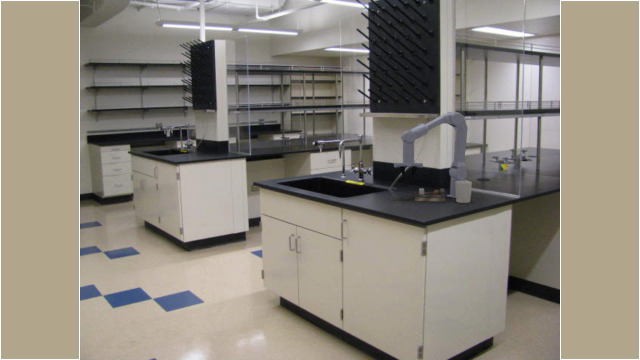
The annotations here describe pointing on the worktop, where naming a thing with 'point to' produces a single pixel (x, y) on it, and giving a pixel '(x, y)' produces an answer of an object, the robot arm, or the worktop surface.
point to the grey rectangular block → (421, 191)
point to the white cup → (463, 191)
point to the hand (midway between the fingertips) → (408, 181)
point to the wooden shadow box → (431, 196)
